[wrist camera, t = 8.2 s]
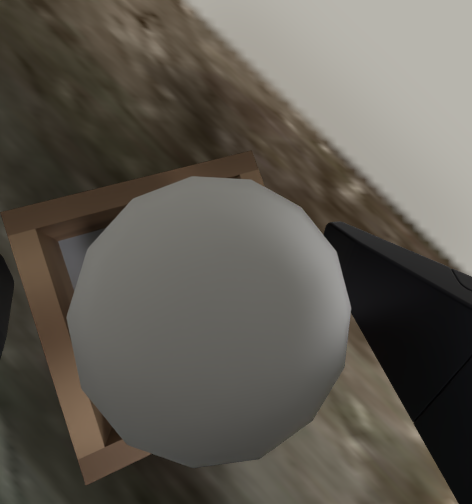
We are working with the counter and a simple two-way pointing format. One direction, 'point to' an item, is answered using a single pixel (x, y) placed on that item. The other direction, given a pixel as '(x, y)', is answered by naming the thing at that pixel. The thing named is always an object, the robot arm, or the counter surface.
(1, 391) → the counter surface
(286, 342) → the salt shaker
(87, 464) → the shaker dock
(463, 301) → the robot arm
